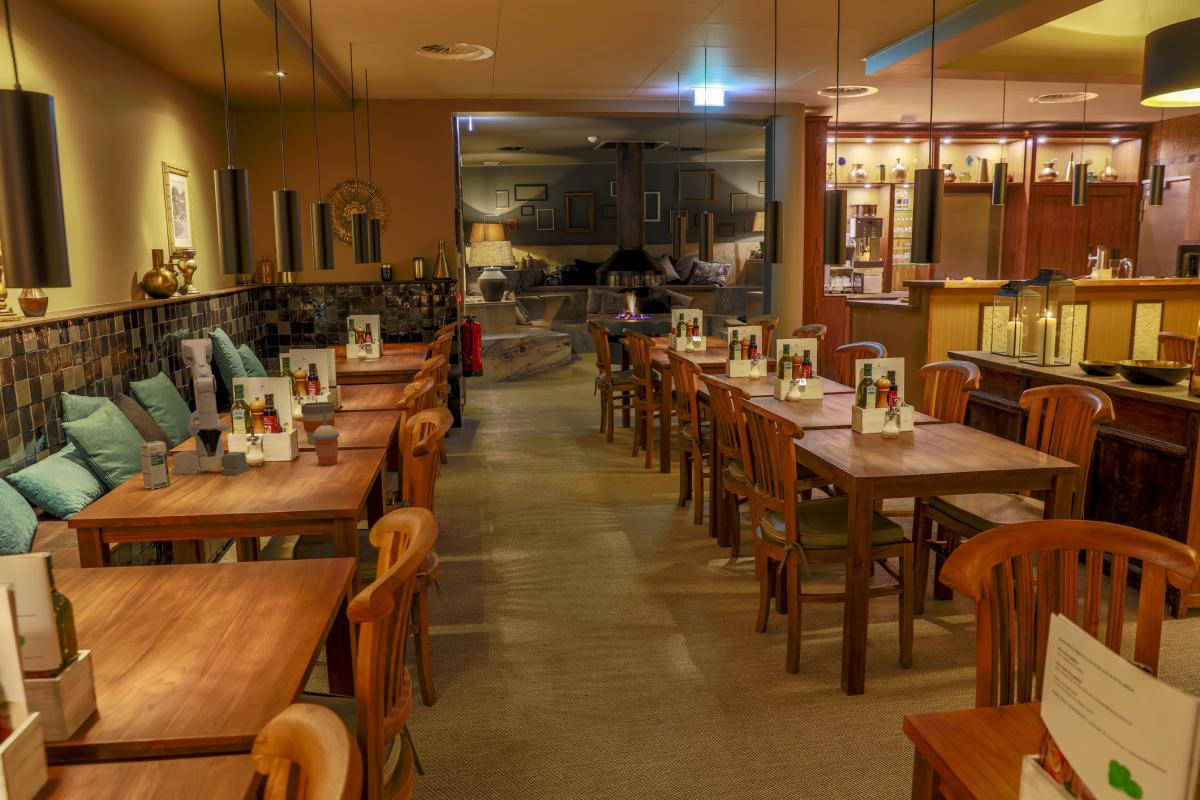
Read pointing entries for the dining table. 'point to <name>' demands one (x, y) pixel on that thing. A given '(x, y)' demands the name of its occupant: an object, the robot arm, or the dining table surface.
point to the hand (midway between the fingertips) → (211, 451)
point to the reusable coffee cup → (316, 417)
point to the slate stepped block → (234, 463)
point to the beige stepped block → (188, 463)
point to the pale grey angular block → (211, 459)
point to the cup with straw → (326, 443)
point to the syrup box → (154, 464)
